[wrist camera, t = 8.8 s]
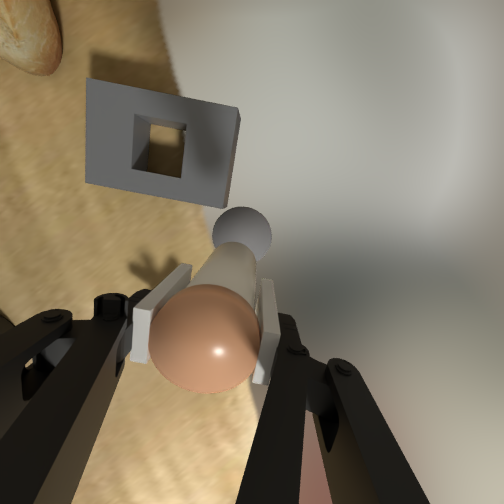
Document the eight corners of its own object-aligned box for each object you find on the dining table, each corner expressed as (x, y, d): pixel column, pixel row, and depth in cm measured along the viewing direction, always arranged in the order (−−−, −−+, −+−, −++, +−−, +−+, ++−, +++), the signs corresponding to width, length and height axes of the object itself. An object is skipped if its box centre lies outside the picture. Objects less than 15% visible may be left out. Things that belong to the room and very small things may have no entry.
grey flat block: (106, 183, 35) (85, 182, 31) (109, 92, 32) (86, 77, 28) (226, 206, 35) (222, 208, 31) (240, 118, 32) (238, 107, 28)
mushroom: (203, 284, 23) (143, 383, 11) (210, 233, 22) (152, 285, 10) (254, 293, 23) (248, 401, 11) (264, 244, 22) (270, 306, 10)
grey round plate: (209, 258, 38) (208, 259, 37) (217, 201, 35) (217, 201, 35) (265, 269, 38) (265, 269, 37) (277, 212, 35) (277, 213, 35)
